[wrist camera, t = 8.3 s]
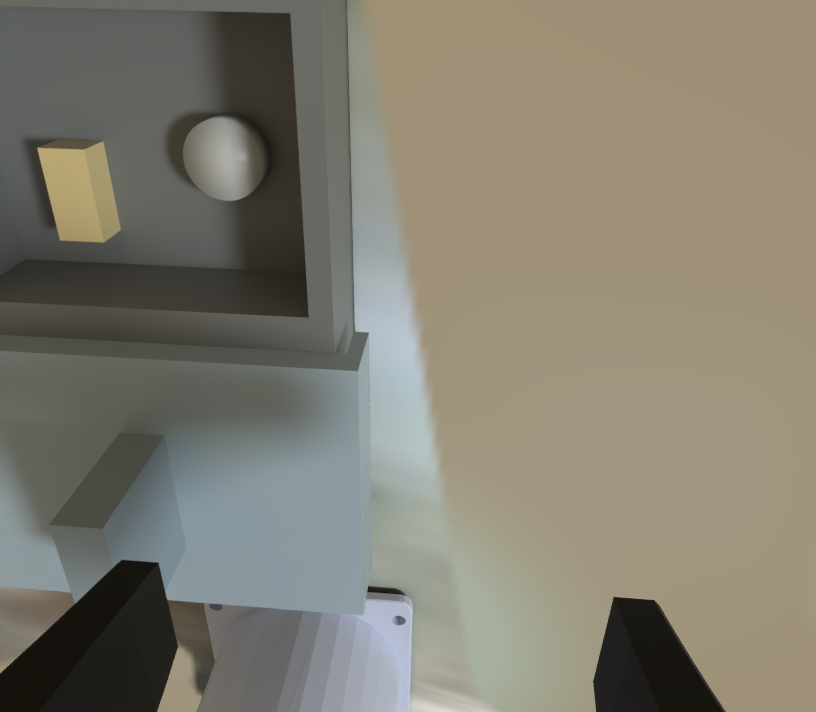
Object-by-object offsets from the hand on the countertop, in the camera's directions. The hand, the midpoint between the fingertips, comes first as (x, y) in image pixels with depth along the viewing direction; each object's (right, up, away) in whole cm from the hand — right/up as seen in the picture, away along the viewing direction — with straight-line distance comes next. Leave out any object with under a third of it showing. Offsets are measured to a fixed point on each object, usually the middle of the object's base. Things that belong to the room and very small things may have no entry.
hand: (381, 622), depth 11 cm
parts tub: (-6, +6, +9) cm, 13 cm away
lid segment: (-6, +2, +9) cm, 11 cm away
